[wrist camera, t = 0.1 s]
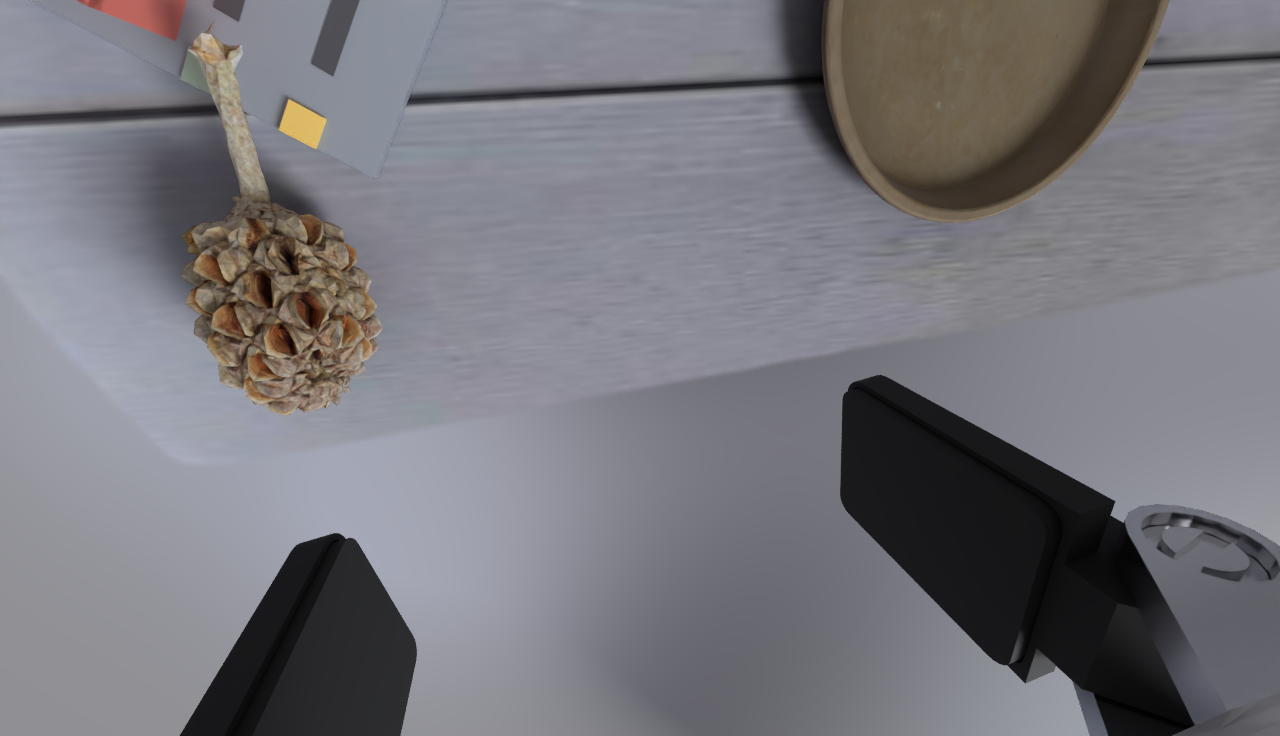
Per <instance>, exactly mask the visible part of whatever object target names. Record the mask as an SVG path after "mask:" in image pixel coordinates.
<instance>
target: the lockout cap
mask: <svg viewBox="0 0 1280 736" xmlns="http://www.w3.org/2000/svg"><path fill="white" fill-rule="evenodd" d="M77 1H79V2H80V3H82V4H84V5H86V6H88V7H91V8H93V9H96V10H98V11H101V12H103V13H106V14H108V15H111V16H113V17H116V18H119V19H121V20H124V21H126V22H129V23H131V24H134V25H136V26H139V27H141V28H144V29H146V30H149V31H151V32H154V33H157V34H159V35H162V36H164V37H167V38H169V39H172V40H174V41H176V39H177V35H178V31H179V28H180V24H181V20H182V16H183V12H184V8H185V5H186V1H187V0H77Z"/></svg>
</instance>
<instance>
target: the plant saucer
mask: <svg viewBox="0 0 1280 736" xmlns="http://www.w3.org/2000/svg"><path fill="white" fill-rule="evenodd" d="M1168 3H1169V0H824V8H823V20H822V38H821V45H822V68H823V78H824V85H825V91H826V96H827V102H828V106H829V109H830V113H831V116H832V120H833V123H834V126H835V129H836V132H837V134H838V137H839V139H840V142H841V144H842V146H843V148H844V150H845V152H846V154H847V156H848V158H849V160H850V161H851V163H852V165H853V166H854V168H855V170H856V171H857V172H858V174H859V175H860V176H861V178H862V179H863V180H864V182H865V183H866V184H867V185H868V186H869V187H870V188H871V189H872V190H873V191H874V192H875V193H876V194H877V195H878V196H879V197H881V198H882V199H883V200H884V201H886V202H887V203H888V204H890V205H892V206H893V207H895V208H897V209H898V210H900V211H902V212H904V213H907V214H909V215H912V216H914V217H917V218H921V219H924V220H929V221H935V222H947V223H953V222H967V221H973V220H978V219H982V218H986V217H989V216H992V215H995V214H998V213H1001V212H1003V211H1005V210H1008V209H1010V208H1012V207H1014V206H1016V205H1018V204H1020V203H1022V202H1024V201H1025V200H1027V199H1029V198H1031V197H1032V196H1034V195H1035V194H1037V193H1038V192H1040V191H1041V190H1043V189H1044V188H1045V187H1047V186H1048V185H1049V184H1051V183H1052V182H1053V181H1055V180H1056V179H1057V178H1058V177H1059V176H1060V175H1062V174H1063V173H1064V172H1065V171H1066V170H1067V169H1068V168H1069V167H1070V166H1071V165H1072V164H1073V163H1074V162H1075V161H1076V160H1077V159H1078V158H1079V157H1080V156H1081V155H1082V154H1083V153H1084V152H1085V151H1086V150H1087V149H1088V148H1089V146H1090V145H1091V144H1092V143H1093V142H1094V141H1095V139H1096V138H1097V137H1098V136H1099V135H1100V133H1101V132H1102V131H1103V130H1104V128H1105V127H1106V126H1107V124H1108V123H1109V122H1110V120H1111V119H1112V117H1113V116H1114V114H1115V113H1116V112H1117V110H1118V109H1119V107H1120V105H1121V104H1122V102H1123V101H1124V99H1125V97H1126V96H1127V94H1128V92H1129V91H1130V89H1131V87H1132V85H1133V83H1134V82H1135V80H1136V78H1137V76H1138V75H1139V73H1140V71H1141V69H1142V67H1143V65H1144V63H1145V61H1146V59H1147V57H1148V54H1149V52H1150V50H1151V48H1152V45H1153V43H1154V41H1155V39H1156V37H1157V34H1158V32H1159V29H1160V26H1161V24H1162V21H1163V18H1164V15H1165V13H1166V10H1167V7H1168Z"/></svg>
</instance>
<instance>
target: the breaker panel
mask: <svg viewBox="0 0 1280 736" xmlns="http://www.w3.org/2000/svg"><path fill="white" fill-rule="evenodd" d="M29 1H31V2H33V3H35V4H37V5H39V6H41V7H43V8H45V9H47V10H49V11H51V12H52V13H54V14H56V15H58V16H60V17H62V18H64V19H66V20H68V21H70V22H72V23H74V24H76V25H78V26H80V27H82V28H83V29H85V30H87V31H89V32H91V33H93V34H95V35H97V36H99V37H101V38H103V39H105V40H107V41H109V42H111V43H113V44H115V45H116V46H118V47H120V48H122V49H124V50H126V51H128V52H130V53H132V54H134V55H136V56H138V57H140V58H142V59H144V60H146V61H147V62H149V63H151V64H153V65H155V66H157V67H159V68H161V69H163V70H165V71H167V72H169V73H171V74H173V75H175V76H177V77H179V78H180V80H182V81H184V82H186V83H188V84H190V85H192V86H194V87H196V88H198V89H200V90H202V91H204V92H206V93H208V94H210V95H211V92H210V89H209V86H208V83H207V80H206V78H205V75H204V73H203V70H202V68H201V65H200V63H199V60H198V59H197V58H196V57H195V56H194V55H193V54H192V53H191V52H190V51H188V50H187V49H188V48H190V47H192V46H193V44H194V40H195V37H196V35H198V34H201V33H202V32H205V31H207V30H208V28H209V27H210V25H211V24H212V22H213V21H214V20H215V22H214V26H213V30H212V35H213V36H214V37H216V38H217V39H218V40H219V41H220V42H222V43H223V44H227V45H231V46H236V45H242V51H243V54H242V56H241V58H240V60H239V62H238V64H237V66H236V68H235V72H236V77H237V80H238V85H239V93H240V99H241V103H242V107H243V110H244V112H246V113H248V114H250V115H252V116H254V117H256V118H258V119H260V120H262V121H264V122H266V123H268V124H270V125H272V126H274V127H276V128H277V129H279V131H281V132H283V133H285V134H287V135H289V136H291V137H293V138H295V139H297V140H299V141H301V142H303V143H305V144H307V145H309V146H311V147H312V148H315V149H318V150H320V151H322V152H324V153H326V154H328V155H330V156H332V157H334V158H336V159H338V160H340V161H341V162H343V163H345V164H347V165H349V166H351V167H353V168H355V169H357V170H359V171H361V172H363V173H365V174H367V175H369V176H371V177H372V178H378V177H379V174H380V171H381V169H382V166H383V164H384V161H385V158H386V156H387V153H388V151H389V148H390V146H391V143H392V140H393V138H394V135H395V133H396V130H397V127H398V125H399V122H400V120H401V117H402V115H403V112H404V109H405V107H406V104H407V102H408V99H409V97H410V94H411V91H412V89H413V86H414V84H415V81H416V78H417V76H418V73H419V71H420V68H421V66H422V63H423V60H424V58H425V55H426V53H427V50H428V47H429V45H430V42H431V40H432V37H433V35H434V32H435V29H436V27H437V24H438V22H439V19H440V17H441V14H442V11H443V9H444V6H445V4H446V1H447V0H187V1H186V5H185V8H184V12H183V16H182V20H181V24H180V28H179V31H178V35H177V39H176V41H174V40H172V39H169V38H167V37H164V36H162V35H159V34H157V33H154V32H151V31H149V30H146V29H144V28H141V27H139V26H136V25H134V24H131V23H129V22H126V21H124V20H121V19H119V18H116V17H113V16H111V15H108V14H106V13H103V12H101V11H98V10H96V9H93V8H91V7H88V6H86V5H84V4H82V3H80V2H79V1H77V0H29ZM215 18H216V19H215ZM211 96H212V95H211Z"/></svg>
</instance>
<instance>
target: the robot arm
mask: <svg viewBox="0 0 1280 736" xmlns="http://www.w3.org/2000/svg"><path fill="white" fill-rule="evenodd" d="M841 448H842V449H841V486H840V487H841V488H840V496H841V501H842V504H843V505H844V507H845V509H846V511H847V512H848V513H849V514H850V515H851V516H852V517H853V518H854V519H855V520H856V521H857V522H858V523H859V524H860V526H861V527H862V528H863V529H864V530H865V531H866V532H867V533H868V534H869V535H870V536H871V537H872V538H873V539H874V540H875V541H876V542H877V543H878V544H879V545H880V546H881V547H882V548H883V549H884V550H885V551H886V552H887V553H888V554H889V555H890V556H891V557H892V558H893V559H894V560H895V561H896V562H897V563H898V564H899V565H900V566H901V567H902V568H903V569H904V570H905V571H906V572H907V573H908V574H909V575H910V576H911V577H912V578H913V579H914V581H915V582H916V583H918V584H919V586H921V588H922V589H923V590H924V591H925V592H926V593H927V594H928V595H929V596H930V597H931V598H932V599H933V600H934V601H935V602H936V603H937V604H938V605H939V606H940V607H941V608H942V609H943V610H944V611H945V612H946V613H947V614H948V615H949V616H950V617H951V618H952V619H953V620H954V621H955V622H956V623H957V624H958V625H959V626H960V627H961V628H962V629H963V630H964V631H965V632H966V633H967V634H968V635H969V637H970V638H972V640H973V641H974V642H975V643H976V644H977V645H978V646H979V647H980V648H981V649H982V650H983V651H984V652H985V653H986V654H987V655H988V656H989V657H991V658H992V659H993V660H994V661H996V662H997V663H999V664H1002V665H1008V666H1009V668H1010V669H1012V671H1014V673H1016V674H1017V676H1018V677H1019V678H1020V679H1021V680H1022V681H1023V682H1024V683H1027V682H1029V681H1032V680H1034V679H1037V678H1039V677H1041V676H1043V675H1046V674H1048V673H1050V672H1053V671H1054V670H1055V667H1056V666H1057V667H1058V668H1059V669H1060V670H1061V671H1063V672H1064V673H1065V674H1066V675H1067V676H1068V677H1069V678H1070V679H1071V680H1072V682H1073V685H1074V688H1075V691H1076V694H1077V697H1078V700H1079V704H1080V707H1081V710H1082V713H1083V716H1084V719H1085V722H1086V725H1087V728H1088V732H1089V735H1090V736H1280V546H1279V545H1277V544H1276V543H1274V542H1273V541H1271V540H1269V539H1268V538H1266V537H1264V536H1263V535H1261V534H1260V533H1258V532H1256V531H1255V530H1252V529H1250V528H1248V527H1246V526H1243V525H1241V524H1239V523H1237V522H1234V521H1232V520H1230V519H1227V518H1224V517H1221V516H1218V515H1215V514H1212V513H1209V512H1206V511H1202V510H1198V509H1193V508H1187V507H1182V506H1177V505H1159V504H1155V505H1148V506H1140V507H1138V508H1136V509H1134V510H1132V511H1130V512H1129V513H1128V515H1127V517H1126V519H1125V521H1124V523H1122V522H1121V521H1119V520H1117V519H1115V518H1114V517H1112V516H1110V515H1111V512H1112V509H1113V506H1114V504H1115V501H1114V500H1112V499H1110V498H1108V497H1106V496H1105V495H1103V494H1101V493H1099V492H1097V491H1095V490H1094V489H1092V488H1090V487H1088V486H1086V485H1084V484H1082V483H1081V482H1079V481H1077V480H1075V479H1073V478H1071V477H1070V476H1068V475H1066V474H1064V473H1062V472H1060V471H1059V470H1057V469H1055V468H1053V467H1051V466H1049V465H1047V464H1046V463H1044V462H1042V461H1040V460H1038V459H1036V458H1034V457H1033V456H1031V455H1029V454H1027V453H1025V452H1024V451H1022V450H1020V449H1018V448H1016V447H1014V446H1013V445H1011V444H1009V443H1007V442H1005V441H1003V440H1001V439H1000V438H998V437H996V436H994V435H992V434H990V433H989V432H987V431H985V430H983V429H981V428H979V427H978V426H975V425H974V424H972V423H970V422H968V421H967V420H965V419H963V418H961V417H959V416H957V415H956V414H954V413H952V412H950V411H948V410H946V409H945V408H942V407H941V406H939V405H937V404H935V403H933V402H931V401H930V400H928V399H926V398H924V397H922V396H921V395H919V394H917V393H915V392H913V391H911V390H910V389H908V388H906V387H904V386H902V385H900V384H898V383H897V382H895V381H893V380H891V379H889V378H887V377H885V376H882V375H877V376H873V377H870V378H866V379H863V380H860V381H856V382H853V383H852V384H851V385H850V386H849V388H848V392H846V393H845V394H844V396H843V406H842V446H841ZM416 657H417V649H416V642H415V639H414V637H413V635H412V633H411V632H410V630H409V628H408V627H407V625H406V623H405V621H404V620H403V618H402V617H401V615H400V613H399V612H398V610H397V608H396V607H395V605H394V603H393V601H392V600H391V598H390V596H389V595H388V593H387V591H386V590H385V588H384V586H383V585H382V583H381V581H380V579H379V578H378V576H377V575H376V573H375V571H374V569H373V568H372V566H371V564H370V563H369V561H368V559H367V558H366V556H365V554H364V553H363V551H362V549H361V548H360V546H359V544H358V543H357V541H356V540H355V539H353V538H348V539H345V537H344V536H342V535H341V534H338V533H334V534H330V535H327V536H323V537H320V538H317V539H313V540H310V541H307V542H303V543H300V544H298V545H296V546H295V547H294V548H293V550H292V551H291V553H290V554H289V556H288V558H287V559H286V561H285V562H284V564H283V566H282V568H281V569H280V571H279V572H278V574H277V576H276V577H275V579H274V581H273V582H272V584H271V586H270V587H269V589H268V591H267V592H266V594H265V596H264V597H263V599H262V601H261V602H260V604H259V606H258V607H257V609H256V611H255V612H254V614H253V616H252V617H251V619H250V620H249V622H248V624H247V625H246V627H245V629H244V631H243V632H242V634H241V635H240V637H239V639H238V640H237V642H236V644H235V645H234V647H233V649H232V650H231V652H230V653H229V655H228V657H227V658H226V660H225V662H224V663H223V665H222V667H221V668H220V670H219V672H218V673H217V675H216V677H215V678H214V680H213V682H212V683H211V685H210V687H209V688H208V690H207V692H206V693H205V695H204V696H203V698H202V700H201V701H200V703H199V705H198V706H197V708H196V710H195V711H194V713H193V715H192V716H191V718H190V720H189V721H188V723H187V725H186V726H185V728H184V730H183V731H182V733H181V734H180V736H400V734H401V730H402V725H403V720H404V715H405V711H406V706H407V701H408V697H409V692H410V687H411V682H412V677H413V672H414V668H415V663H416Z"/></svg>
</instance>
